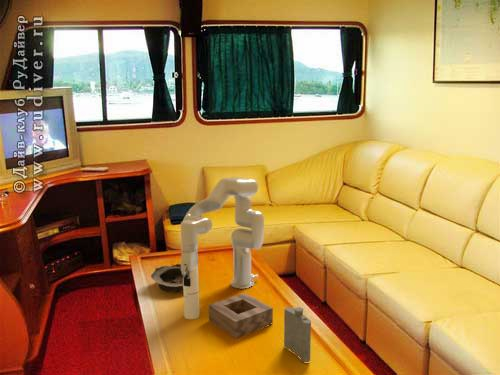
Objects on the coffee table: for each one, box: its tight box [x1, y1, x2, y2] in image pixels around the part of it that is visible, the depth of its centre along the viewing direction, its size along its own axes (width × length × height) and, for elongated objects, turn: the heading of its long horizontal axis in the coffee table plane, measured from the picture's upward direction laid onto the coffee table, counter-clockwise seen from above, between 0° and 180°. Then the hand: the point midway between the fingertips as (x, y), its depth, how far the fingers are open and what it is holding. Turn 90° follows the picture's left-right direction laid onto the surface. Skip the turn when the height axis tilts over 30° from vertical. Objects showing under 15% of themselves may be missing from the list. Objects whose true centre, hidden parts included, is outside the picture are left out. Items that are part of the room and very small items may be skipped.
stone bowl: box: [150, 263, 183, 293], centre depth 270 cm, size 25×25×9 cm
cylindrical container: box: [182, 264, 200, 320], centre depth 235 cm, size 7×7×25 cm
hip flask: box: [283, 306, 312, 363], centre depth 203 cm, size 16×4×20 cm, turn 30°
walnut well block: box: [208, 292, 274, 339], centre depth 230 cm, size 21×21×8 cm
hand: (190, 282), depth 234 cm, fingers open, 7 cm apart
